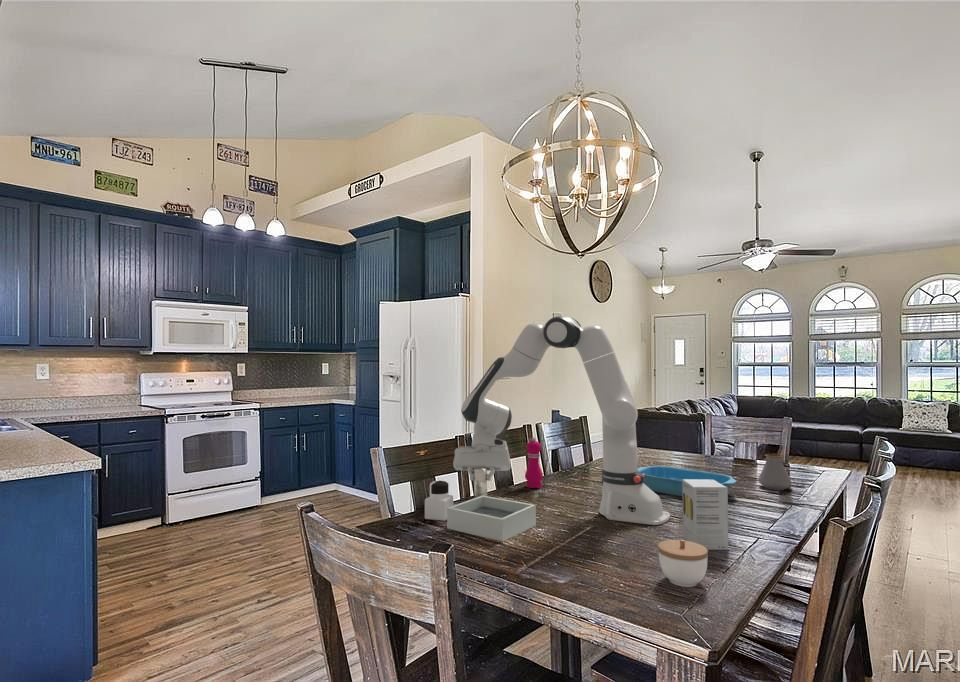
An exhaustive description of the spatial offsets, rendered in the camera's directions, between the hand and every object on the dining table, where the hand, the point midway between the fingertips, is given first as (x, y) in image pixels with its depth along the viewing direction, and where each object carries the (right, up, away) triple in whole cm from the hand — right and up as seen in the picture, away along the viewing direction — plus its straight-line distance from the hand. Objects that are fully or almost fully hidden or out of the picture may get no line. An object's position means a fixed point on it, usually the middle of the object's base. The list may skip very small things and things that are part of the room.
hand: (480, 479), depth 183 cm
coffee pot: (+120, -11, +30) cm, 124 cm away
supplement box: (+62, -8, -37) cm, 73 cm away
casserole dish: (+79, -11, +22) cm, 83 cm away
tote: (+4, -9, -23) cm, 25 cm away
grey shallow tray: (+4, -8, -23) cm, 25 cm away
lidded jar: (+47, -8, -61) cm, 77 cm away
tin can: (0, -5, 0) cm, 5 cm away
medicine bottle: (-13, -10, -12) cm, 21 cm away
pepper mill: (+22, -11, +30) cm, 39 cm away
